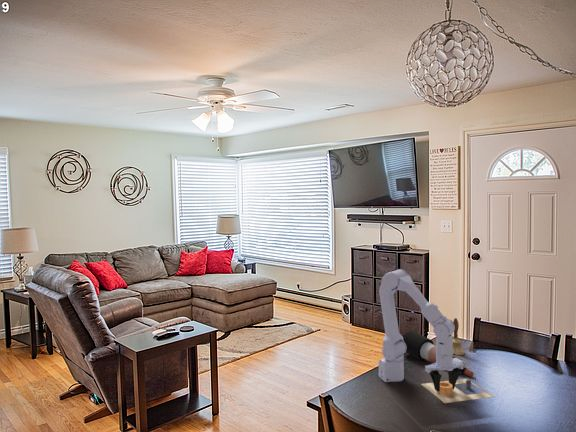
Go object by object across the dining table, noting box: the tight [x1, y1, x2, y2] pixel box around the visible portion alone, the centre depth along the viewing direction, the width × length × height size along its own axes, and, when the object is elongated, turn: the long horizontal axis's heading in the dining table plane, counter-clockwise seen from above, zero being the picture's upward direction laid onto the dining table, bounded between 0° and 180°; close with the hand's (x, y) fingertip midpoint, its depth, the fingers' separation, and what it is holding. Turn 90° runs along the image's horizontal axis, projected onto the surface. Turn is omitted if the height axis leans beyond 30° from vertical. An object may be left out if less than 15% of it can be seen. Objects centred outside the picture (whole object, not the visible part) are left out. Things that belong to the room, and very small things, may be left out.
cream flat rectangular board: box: [420, 378, 495, 404], centre depth 161 cm, size 20×16×4 cm
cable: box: [403, 330, 475, 378], centre depth 187 cm, size 10×34×10 cm, turn 26°
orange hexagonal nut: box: [437, 380, 453, 395], centre depth 160 cm, size 5×5×3 cm
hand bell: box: [452, 318, 466, 356], centre depth 203 cm, size 8×8×16 cm
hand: (444, 389), depth 160 cm, fingers closed on orange hexagonal nut, 5 cm apart
